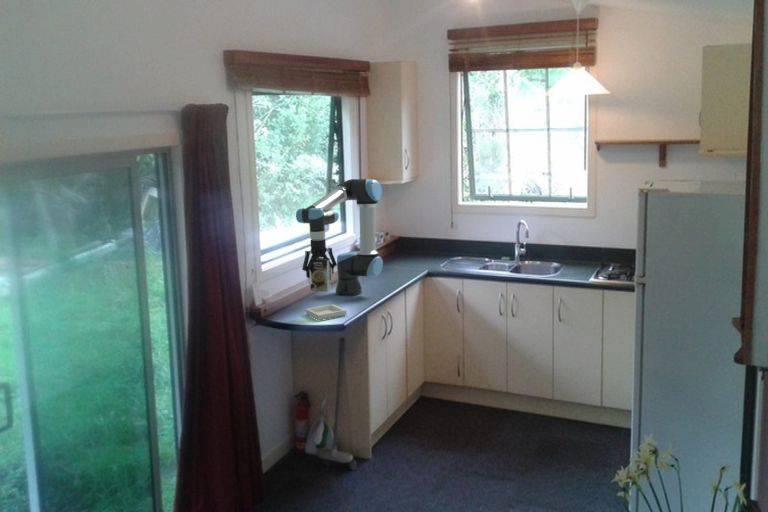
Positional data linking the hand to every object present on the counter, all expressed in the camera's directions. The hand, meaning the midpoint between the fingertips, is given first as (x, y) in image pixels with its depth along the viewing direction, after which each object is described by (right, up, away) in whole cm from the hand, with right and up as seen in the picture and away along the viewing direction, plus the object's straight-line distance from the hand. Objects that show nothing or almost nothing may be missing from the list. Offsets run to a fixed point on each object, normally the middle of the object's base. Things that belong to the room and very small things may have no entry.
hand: (320, 282), depth 375 cm
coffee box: (0, -4, +1) cm, 4 cm away
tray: (+3, -17, +3) cm, 18 cm away
